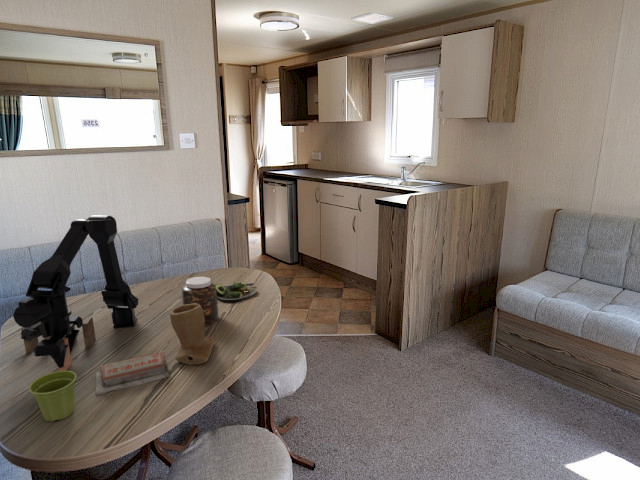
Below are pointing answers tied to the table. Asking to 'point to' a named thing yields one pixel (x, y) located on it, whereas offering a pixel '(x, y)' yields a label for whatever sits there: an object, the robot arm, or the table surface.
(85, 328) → the domino
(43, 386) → the plant pot
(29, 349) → the domino
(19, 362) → the table surface
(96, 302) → the table surface
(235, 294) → the salad plate
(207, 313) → the jar
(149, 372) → the packaged product
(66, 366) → the domino
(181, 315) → the tan boot
